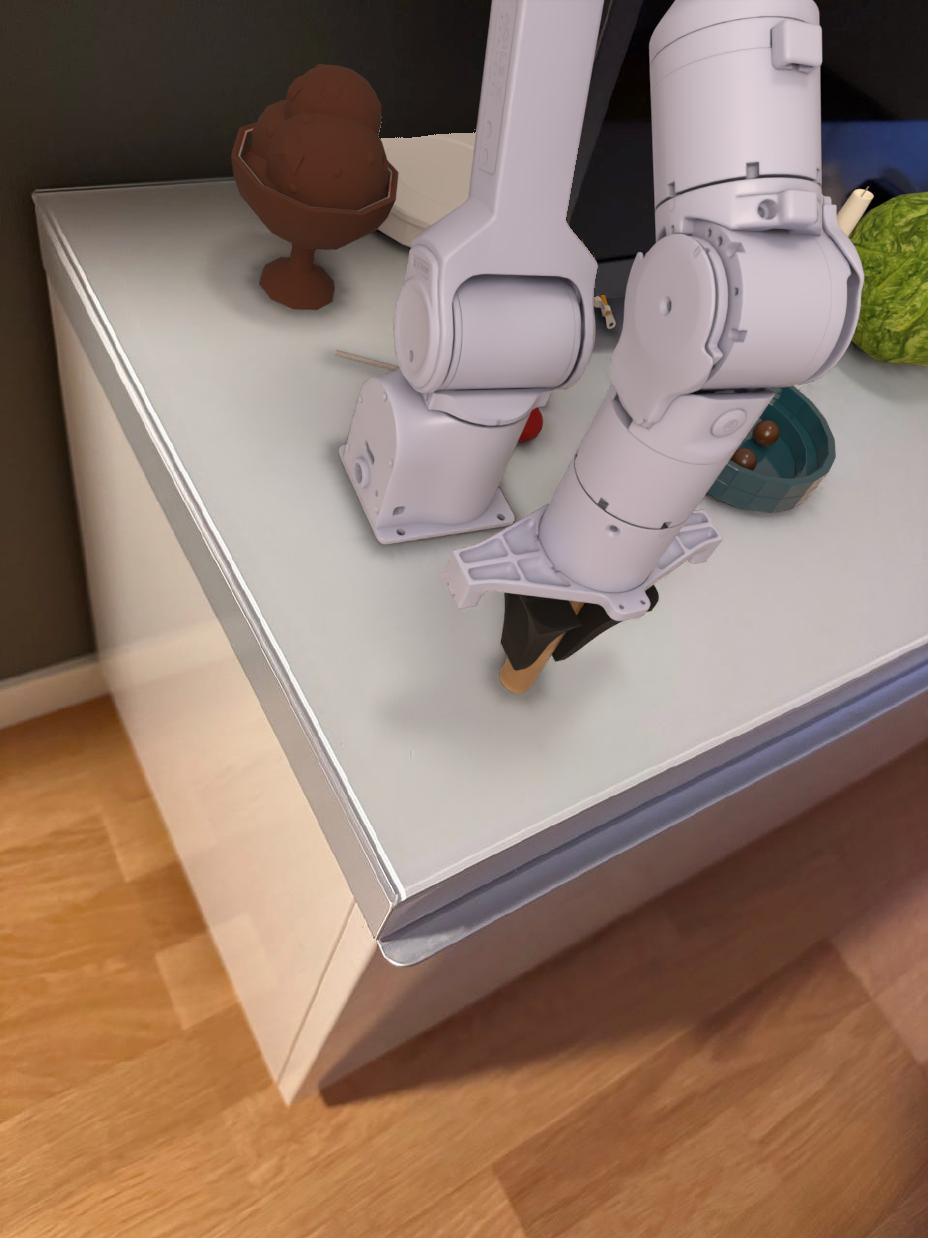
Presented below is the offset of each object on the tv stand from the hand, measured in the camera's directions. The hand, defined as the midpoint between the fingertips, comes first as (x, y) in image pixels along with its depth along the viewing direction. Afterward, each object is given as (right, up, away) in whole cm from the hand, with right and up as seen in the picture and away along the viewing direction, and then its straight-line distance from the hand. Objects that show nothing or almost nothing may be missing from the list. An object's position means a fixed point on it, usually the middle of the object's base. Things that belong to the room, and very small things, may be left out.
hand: (532, 650), depth 52 cm
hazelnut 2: (+19, +16, +20) cm, 32 cm away
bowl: (+16, +15, +20) cm, 30 cm away
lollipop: (-5, +18, +15) cm, 24 cm away
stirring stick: (-1, -2, +2) cm, 3 cm away
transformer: (+9, +34, +29) cm, 46 cm away
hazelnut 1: (+17, +13, +17) cm, 27 cm away
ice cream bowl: (-16, +26, +18) cm, 35 cm away
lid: (-5, +37, +30) cm, 48 cm away
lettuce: (+37, +37, +36) cm, 64 cm away
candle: (+21, +24, +29) cm, 44 cm away
